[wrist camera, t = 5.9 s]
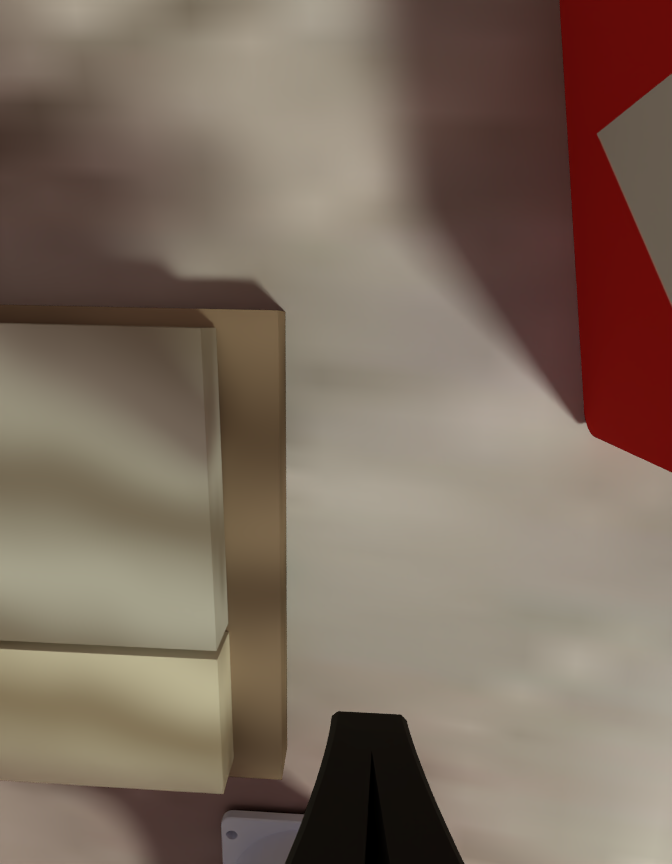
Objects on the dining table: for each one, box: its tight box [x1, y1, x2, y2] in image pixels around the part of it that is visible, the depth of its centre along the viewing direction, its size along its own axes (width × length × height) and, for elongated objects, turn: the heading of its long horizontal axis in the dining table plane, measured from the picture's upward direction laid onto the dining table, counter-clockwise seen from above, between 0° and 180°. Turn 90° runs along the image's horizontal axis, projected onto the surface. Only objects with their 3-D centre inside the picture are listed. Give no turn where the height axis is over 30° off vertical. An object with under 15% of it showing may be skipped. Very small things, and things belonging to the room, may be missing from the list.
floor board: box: [0, 305, 287, 794], centre depth 17 cm, size 19×18×3 cm
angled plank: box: [0, 323, 228, 651], centre depth 15 cm, size 11×14×2 cm
